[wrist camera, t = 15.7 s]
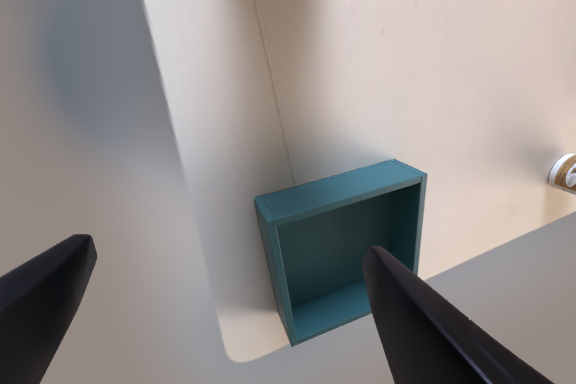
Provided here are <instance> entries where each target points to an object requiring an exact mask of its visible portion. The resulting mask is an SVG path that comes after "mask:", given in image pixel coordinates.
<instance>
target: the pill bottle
mask: <svg viewBox="0 0 576 384" xmlns="http://www.w3.org/2000/svg"><path fill="white" fill-rule="evenodd" d="M549 184H550V185H551V186H552V187H554V188H557V189H560V190H563V191H566V192H569V193H572V194H575V195H576V154H572V153H571V154H567V155H565V156H563V157H562V158H560V159H559V160H558V161H557V162H556V164H555V165H554V166H553V168H552V170H551V172H550V175H549Z"/></svg>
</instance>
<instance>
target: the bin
mask: <svg viewBox="0 0 576 384" xmlns="http://www.w3.org/2000/svg"><path fill="white" fill-rule="evenodd" d="M426 184H427V173H424V172H422V171H420V170H418V169H415V168H413V167H411V166H409V165H407V164H404V163H402V162H400V161H398V160H396V159H393V160H389V161H386V162H382V163H379V164H375V165H371V166H368V167H364V168H360V169H357V170H353V171H350V172H346V173H342V174H339V175H335V176H332V177H328V178H324V179H321V180H317V181H314V182H310V183H306V184H303V185H299V186H296V187H292V188H288V189H285V190H281V191H278V192H274V193H270V194H267V195H263V196H260V197H256V198H254V203H255V207H256V212H257V217H258V221H259V226H260V230H261V235H262V240H263V244H264V249H265V254H266V258H267V263H268V268H269V272H270V277H271V281H272V286H273V291H274V295H275V300H276V305H277V309H278V313H279V316H280V319H281V321H282V324H283V326H284V329H285V331H286V334H287V336H288V339H289V342H290V344H291V346H292V347H293V346H295V345H297V344H299V343H302V342H304V341H307V340H309V339H311V338H314V337H316V336H318V335H321V334H323V333H326V332H328V331H330V330H333V329H335V328H338V327H340V326H342V325H345V324H347V323H349V322H352V321H354V320H357V319H359V318H361V317H364V316H366V315H368V314H371V313H372V311H371V308H370V304H369V300H368V295H367V290H366V285H365V280H364V276H363V271H362V261H363V258H364V256H365V253H366V251H367V249H368V247H369V246H381V247H383V248H384V249H385V250H386V251H388V252H389V253H390V254H391V255H392V256H394V257H395V258H396V259H397V260H398V261H400V262H401V263H402V264H403V265H405V266H406V267H407V268H408V269H409V270H411V271H412V272H413V273H414V274H415V275H418V265H419V255H420V245H421V235H422V224H423V214H424V204H425V194H426Z"/></svg>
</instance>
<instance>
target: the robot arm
mask: <svg viewBox="0 0 576 384" xmlns="http://www.w3.org/2000/svg"><path fill="white" fill-rule="evenodd" d="M96 260H97V252H96V249H95V245H94V242H93V239H92V237H91V236H90V235H88V234H75V235H72V236H70V237H69V238H67V239H65V240H63V241H62V242H60V243H58V244H56V245H55V246H53V247H51V248H50V249H48V250H46V251H45V252H43V253H41V254H39V255H38V256H36V257H34V258H32V259H31V260H29V261H27V262H25V263H24V264H22V265H20V266H18V267H17V268H15V269H14V270H12V271H10V272H9V273H6V274H5V275H3V276H1V277H0V384H40V382H41V380H42V378H43V376H44V374H45V372H46V370H47V368H48V366H49V364H50V362H51V360H52V359H53V357H54V355H55V353H56V351H57V349H58V347H59V345H60V343H61V341H62V339H63V337H64V335H65V333H66V331H67V329H68V328H69V326H70V324H71V322H72V320H73V318H74V316H75V313H76V312H77V309H78V307H79V305H80V303H81V300H82V298H83V295H84V293H85V290H86V287H87V284H88V282H89V279H90V276H91V274H92V271H93V269H94V266H95V263H96ZM362 271H363V276H364V280H365V285H366V290H367V295H368V300H369V304H370V308H371V311H372V314H373V318H374V321H375V324H376V327H377V330H378V333H379V336H380V339H381V342H382V345H383V349H384V352H385V355H386V358H387V361H388V364H389V367H390V370H391V373H392V376H393V379H394V382H395V384H554V383H553V382H551V381H550V380H549V379H547V378H546V377H545V376H543V375H542V374H540V373H539V372H538V371H536V370H535V369H534V368H532V367H531V366H529V365H528V364H527V363H525V362H524V361H523V360H521V359H520V358H519V357H517V356H516V355H515V354H513V353H512V352H511V351H509V350H508V349H507V348H505V347H504V346H503V345H501V344H500V343H499V342H497V341H496V340H495V339H494V338H492V337H491V336H490V335H489V334H487V333H486V332H485V331H484V330H482V329H481V328H480V327H479V326H478V325H476V324H475V323H474V322H472V321H471V320H469V319H468V317H466V316H465V315H464V314H463V313H462V312H460V311H459V310H458V309H457V308H455V307H454V306H453V305H452V304H451V303H449V302H448V301H447V300H446V299H445V298H443V297H442V296H441V295H440V294H438V293H437V292H436V291H435V290H433V289H432V288H431V287H430V286H429V285H428V284H426V283H425V282H424V281H423V280H422V279H420V278H419V277H418V276H417V275H415V274H414V273H413V272H412V271H411V270H409V269H408V268H407V267H406V266H405V265H403V264H402V263H401V262H400V261H398V260H397V259H396V258H395V257H394V256H392V255H391V254H390V253H389V252H388V251H386V250H385V249H384V248H383V247H381V246H369V247H368V249H367V251H366V253H365V256H364V258H363V261H362Z"/></svg>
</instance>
